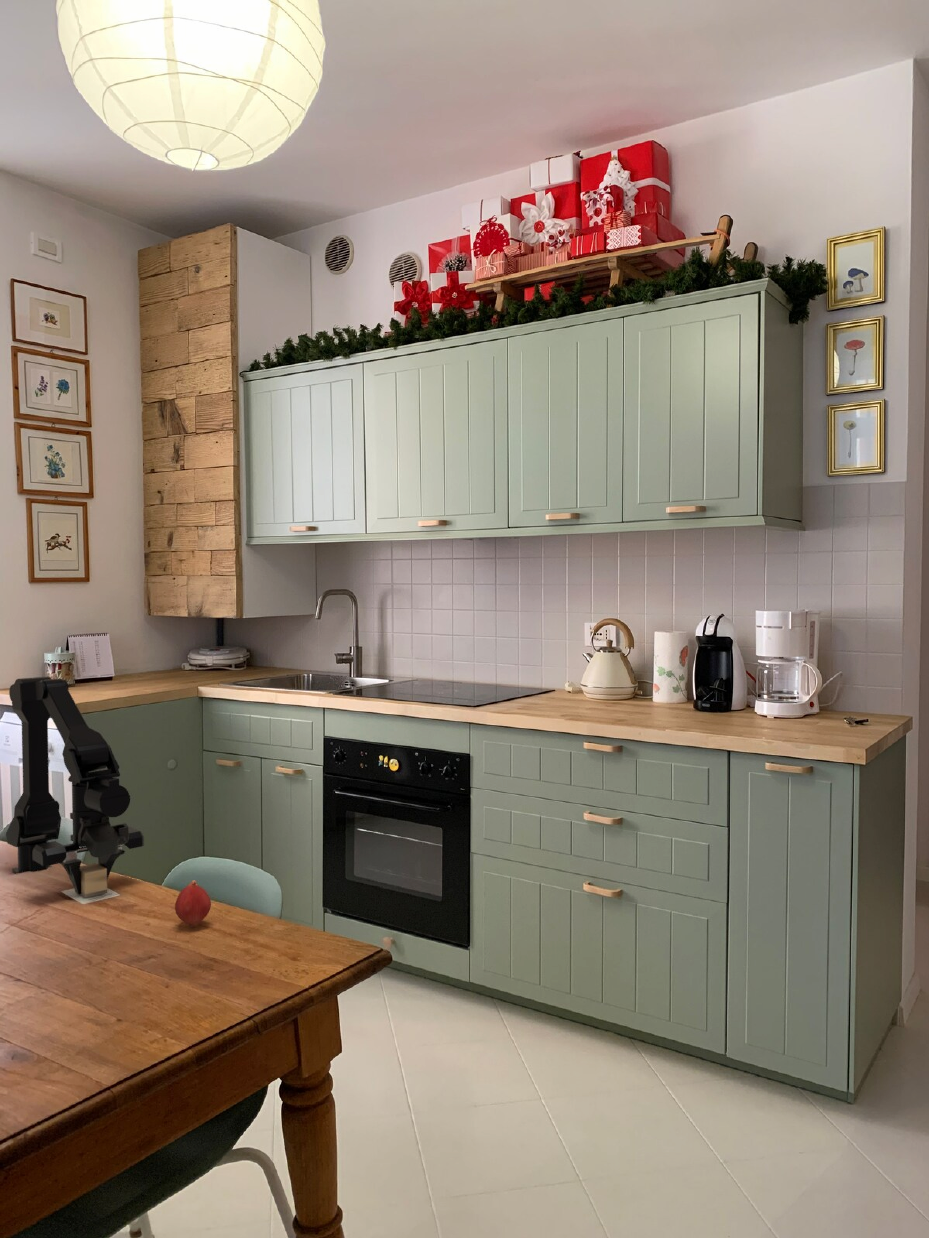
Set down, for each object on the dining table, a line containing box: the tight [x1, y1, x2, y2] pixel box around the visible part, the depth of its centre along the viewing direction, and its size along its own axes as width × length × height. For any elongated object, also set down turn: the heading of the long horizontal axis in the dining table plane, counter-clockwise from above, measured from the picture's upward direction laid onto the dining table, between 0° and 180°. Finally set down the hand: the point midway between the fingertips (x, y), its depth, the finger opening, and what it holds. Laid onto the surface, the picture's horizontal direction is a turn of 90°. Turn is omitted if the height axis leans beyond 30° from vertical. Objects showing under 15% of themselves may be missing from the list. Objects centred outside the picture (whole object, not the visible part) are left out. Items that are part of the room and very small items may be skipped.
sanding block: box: [75, 862, 108, 898], centre depth 174 cm, size 5×4×4 cm
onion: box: [174, 880, 212, 928], centre depth 159 cm, size 6×6×8 cm
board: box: [61, 887, 121, 905], centre depth 174 cm, size 10×7×1 cm
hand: (90, 891), depth 174 cm, fingers closed on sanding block, 4 cm apart
